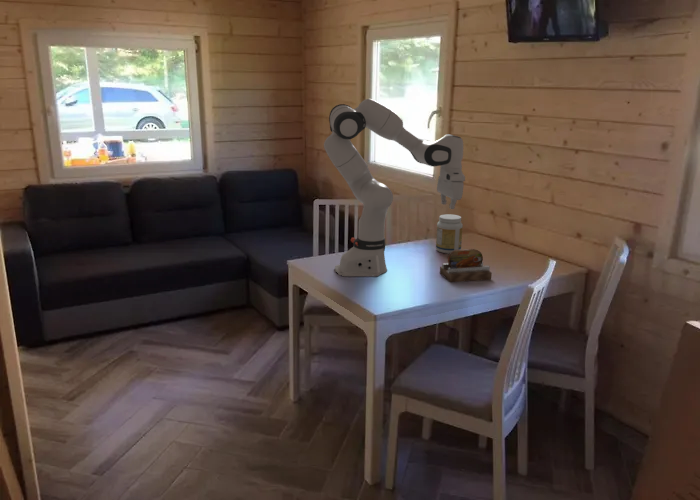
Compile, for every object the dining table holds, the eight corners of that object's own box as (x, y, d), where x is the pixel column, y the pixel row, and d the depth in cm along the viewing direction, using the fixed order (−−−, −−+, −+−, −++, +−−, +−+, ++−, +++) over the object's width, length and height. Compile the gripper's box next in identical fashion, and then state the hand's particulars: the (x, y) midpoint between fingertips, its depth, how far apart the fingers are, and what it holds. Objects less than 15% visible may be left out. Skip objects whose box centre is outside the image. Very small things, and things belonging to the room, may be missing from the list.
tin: (449, 270, 250) (450, 251, 248) (446, 268, 253) (447, 249, 251) (482, 268, 254) (483, 249, 251) (479, 266, 257) (480, 247, 254)
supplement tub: (449, 246, 299) (451, 212, 294) (466, 251, 289) (468, 217, 284) (430, 249, 292) (432, 215, 288) (447, 255, 283) (449, 220, 278)
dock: (450, 282, 246) (451, 270, 244) (439, 273, 257) (440, 262, 256) (491, 279, 250) (492, 268, 248) (478, 270, 261) (479, 259, 260)
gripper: (434, 170, 261) (432, 201, 264) (452, 177, 242) (449, 211, 245) (448, 170, 262) (445, 201, 266) (467, 177, 243) (463, 211, 247)
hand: (447, 206), depth 255 cm, fingers open, 8 cm apart
